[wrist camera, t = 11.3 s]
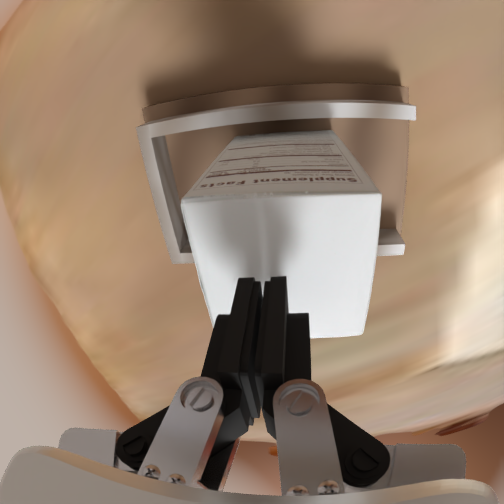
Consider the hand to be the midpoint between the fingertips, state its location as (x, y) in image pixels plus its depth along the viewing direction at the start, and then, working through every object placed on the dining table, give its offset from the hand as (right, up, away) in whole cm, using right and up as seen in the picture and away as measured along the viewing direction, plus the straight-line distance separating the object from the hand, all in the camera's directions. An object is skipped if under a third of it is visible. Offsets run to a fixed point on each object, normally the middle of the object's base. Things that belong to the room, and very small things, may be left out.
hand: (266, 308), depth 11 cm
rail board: (+2, +8, +13) cm, 15 cm away
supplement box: (+2, +8, +11) cm, 14 cm away
